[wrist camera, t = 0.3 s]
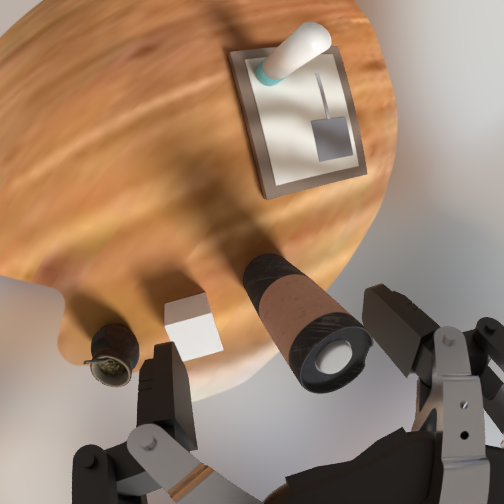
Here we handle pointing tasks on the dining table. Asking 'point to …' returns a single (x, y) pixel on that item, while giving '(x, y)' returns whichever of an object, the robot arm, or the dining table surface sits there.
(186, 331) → the white cube
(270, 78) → the cylinder
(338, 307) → the travel mug
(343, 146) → the board
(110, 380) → the mate gourd
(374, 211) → the dining table surface
